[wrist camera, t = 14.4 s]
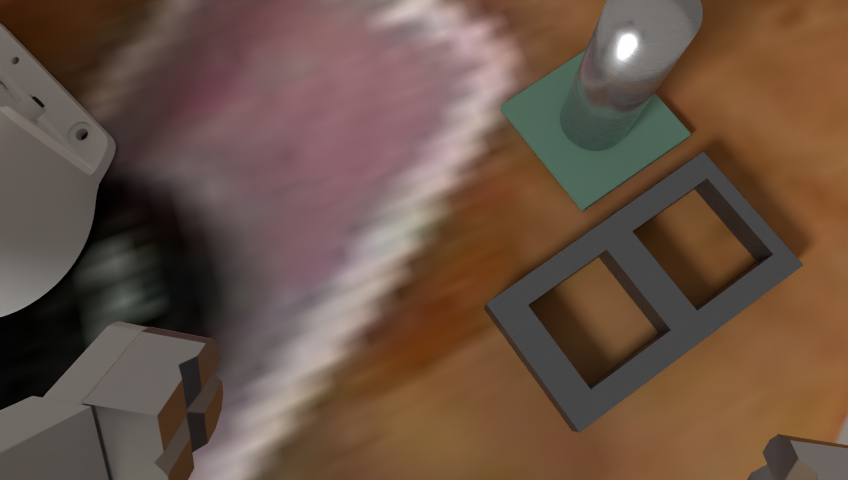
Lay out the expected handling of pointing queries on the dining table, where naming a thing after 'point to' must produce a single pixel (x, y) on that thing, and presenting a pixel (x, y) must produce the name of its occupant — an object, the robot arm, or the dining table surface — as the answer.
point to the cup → (625, 67)
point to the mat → (582, 168)
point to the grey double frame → (640, 292)
